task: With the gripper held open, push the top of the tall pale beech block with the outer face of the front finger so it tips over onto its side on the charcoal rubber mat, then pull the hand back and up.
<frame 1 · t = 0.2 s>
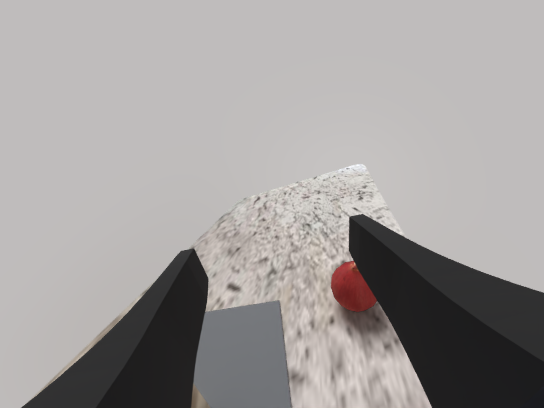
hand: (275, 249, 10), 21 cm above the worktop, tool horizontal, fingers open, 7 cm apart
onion: (353, 305, 30), on the worktop
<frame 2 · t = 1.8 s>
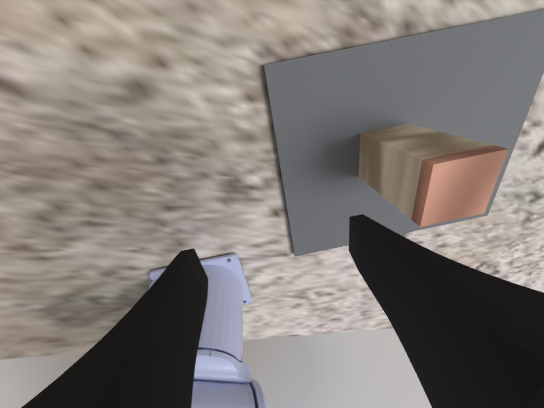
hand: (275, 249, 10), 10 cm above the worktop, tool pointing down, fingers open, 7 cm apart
mat: (398, 156, 20), on the worktop
block: (381, 151, 19), resting on mat
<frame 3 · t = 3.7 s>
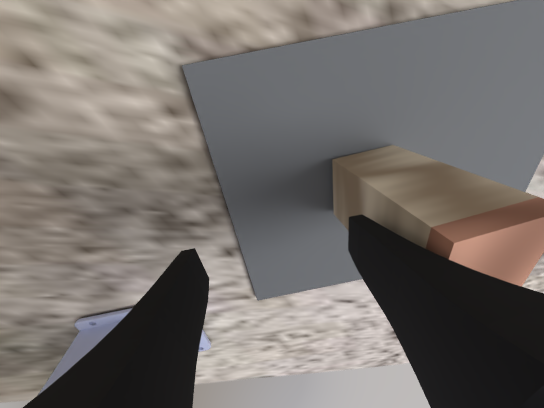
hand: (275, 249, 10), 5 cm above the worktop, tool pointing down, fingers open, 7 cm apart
mat: (383, 184, 15), on the worktop
block: (361, 181, 14), point 1 cm above the worktop, tilted 5°, touching gripper, mat
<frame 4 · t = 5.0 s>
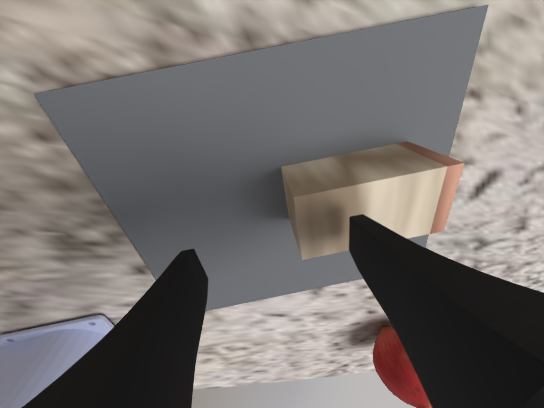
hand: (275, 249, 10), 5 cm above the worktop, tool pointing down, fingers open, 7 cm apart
mat: (286, 203, 15), on the worktop
block: (291, 210, 13), point 2 cm above the worktop, tilted 90°, touching mat
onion: (383, 325, 25), on the worktop
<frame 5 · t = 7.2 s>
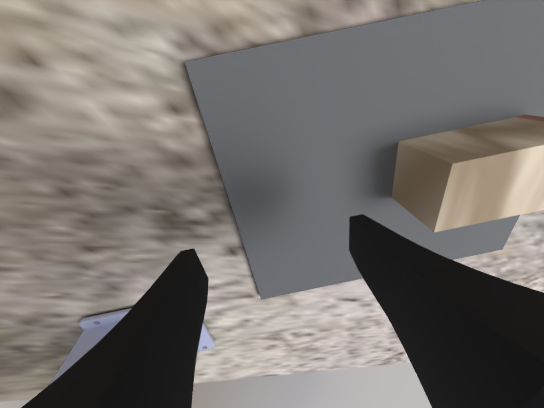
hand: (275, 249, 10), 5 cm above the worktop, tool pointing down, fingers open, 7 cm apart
mat: (389, 181, 15), on the worktop
block: (415, 184, 13), point 2 cm above the worktop, tilted 90°, touching mat
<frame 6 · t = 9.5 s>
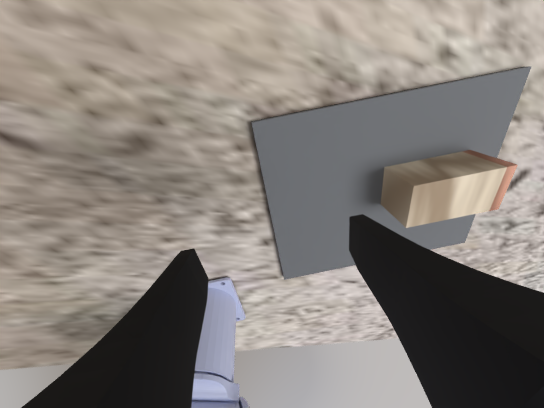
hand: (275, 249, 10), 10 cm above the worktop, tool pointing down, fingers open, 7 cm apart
mat: (378, 193, 22), on the worktop
block: (394, 196, 19), point 2 cm above the worktop, tilted 90°, touching mat
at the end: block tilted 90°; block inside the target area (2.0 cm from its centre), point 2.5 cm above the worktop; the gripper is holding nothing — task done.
